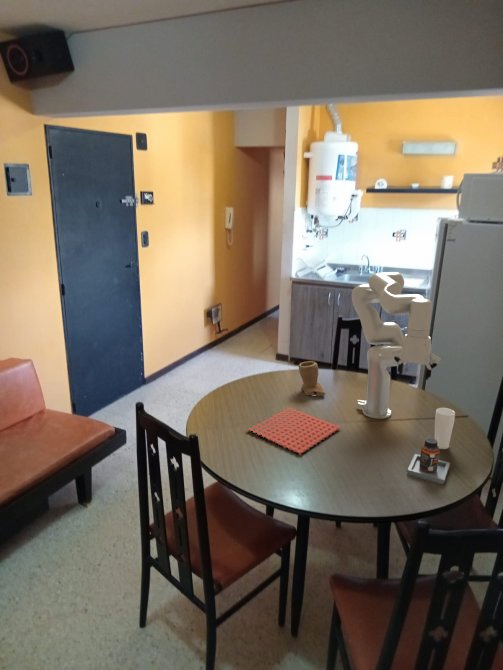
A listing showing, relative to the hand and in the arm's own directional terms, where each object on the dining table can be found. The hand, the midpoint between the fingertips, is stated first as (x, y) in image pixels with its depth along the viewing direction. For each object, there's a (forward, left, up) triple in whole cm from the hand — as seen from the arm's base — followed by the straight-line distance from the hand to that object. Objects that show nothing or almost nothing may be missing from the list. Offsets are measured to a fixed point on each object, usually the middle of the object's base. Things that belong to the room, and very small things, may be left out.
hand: (413, 376), depth 174 cm
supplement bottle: (+11, -16, -28) cm, 34 cm away
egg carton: (-43, -13, -29) cm, 54 cm away
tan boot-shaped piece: (-53, +27, -29) cm, 66 cm away
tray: (+11, -16, -28) cm, 34 cm away
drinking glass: (+12, +4, -28) cm, 31 cm away
